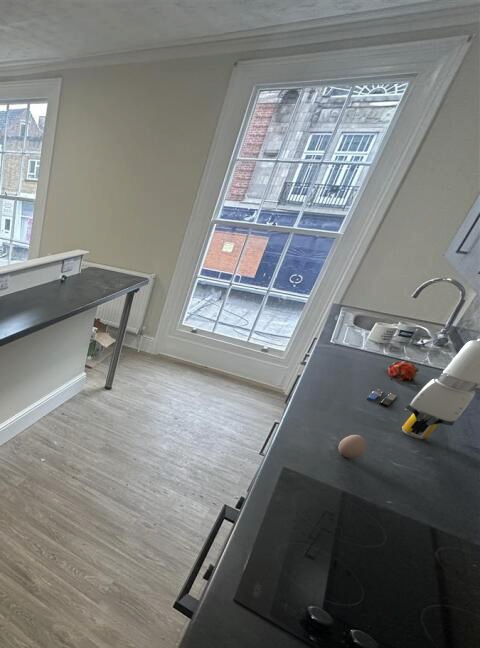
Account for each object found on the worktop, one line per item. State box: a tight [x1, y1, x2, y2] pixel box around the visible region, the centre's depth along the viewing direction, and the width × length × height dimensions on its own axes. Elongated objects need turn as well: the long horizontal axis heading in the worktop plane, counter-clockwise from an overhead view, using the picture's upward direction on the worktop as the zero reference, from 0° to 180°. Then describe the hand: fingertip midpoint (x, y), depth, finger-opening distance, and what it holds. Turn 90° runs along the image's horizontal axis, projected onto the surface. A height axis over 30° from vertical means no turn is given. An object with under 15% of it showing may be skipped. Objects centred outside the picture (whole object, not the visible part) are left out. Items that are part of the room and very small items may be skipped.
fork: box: [366, 388, 384, 402], centre depth 151 cm, size 15×3×1 cm, turn 126°
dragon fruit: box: [386, 360, 420, 382], centre depth 164 cm, size 8×8×12 cm
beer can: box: [401, 412, 439, 440], centre depth 126 cm, size 6×6×15 cm
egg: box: [338, 434, 367, 459], centre depth 113 cm, size 5×5×7 cm
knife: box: [379, 392, 398, 408], centre depth 149 cm, size 16×2×1 cm, turn 126°
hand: (415, 431), depth 126 cm, fingers closed
